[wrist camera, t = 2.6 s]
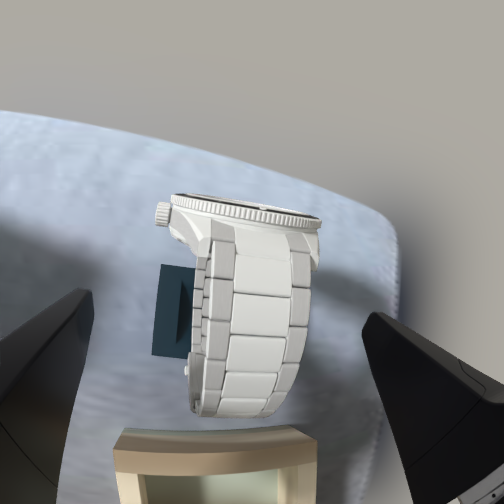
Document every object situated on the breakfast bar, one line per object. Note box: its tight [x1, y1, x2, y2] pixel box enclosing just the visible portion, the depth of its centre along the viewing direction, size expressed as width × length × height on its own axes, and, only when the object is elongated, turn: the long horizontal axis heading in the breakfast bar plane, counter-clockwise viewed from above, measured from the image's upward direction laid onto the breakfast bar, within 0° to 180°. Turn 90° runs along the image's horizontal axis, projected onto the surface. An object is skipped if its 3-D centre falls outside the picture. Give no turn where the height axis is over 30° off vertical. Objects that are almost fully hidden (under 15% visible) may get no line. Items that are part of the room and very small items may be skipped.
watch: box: [152, 193, 322, 418], centre depth 12 cm, size 6×8×11 cm
